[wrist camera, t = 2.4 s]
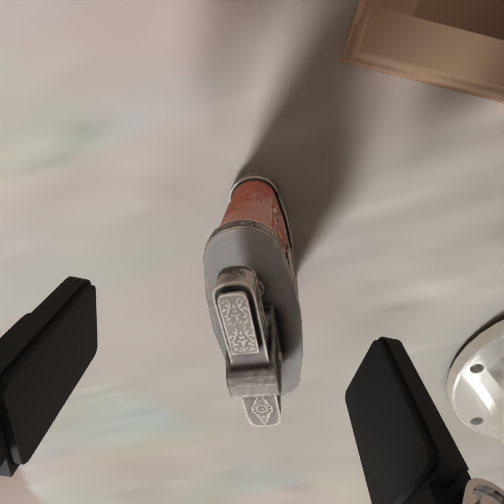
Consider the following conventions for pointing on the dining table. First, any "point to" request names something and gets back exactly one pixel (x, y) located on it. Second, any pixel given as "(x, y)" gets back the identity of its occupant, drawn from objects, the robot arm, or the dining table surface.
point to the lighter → (255, 298)
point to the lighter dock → (432, 42)
